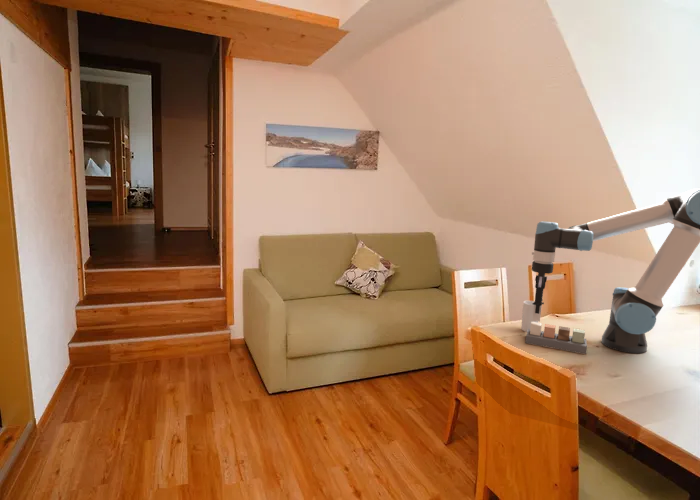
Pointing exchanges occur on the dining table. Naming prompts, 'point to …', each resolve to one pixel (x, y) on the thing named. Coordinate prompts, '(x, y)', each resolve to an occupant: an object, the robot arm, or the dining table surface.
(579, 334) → the key sage
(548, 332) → the key terracotta
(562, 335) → the key walnut
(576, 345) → the grey slotted rack
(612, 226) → the robot arm
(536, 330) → the key ivory
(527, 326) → the mug
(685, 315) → the dining table surface
